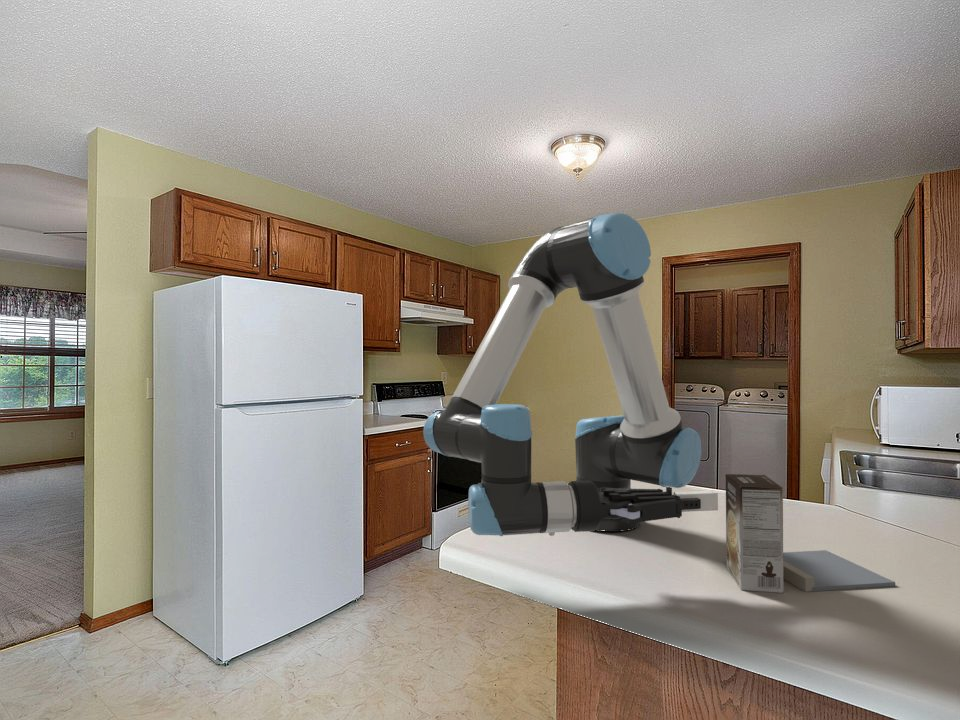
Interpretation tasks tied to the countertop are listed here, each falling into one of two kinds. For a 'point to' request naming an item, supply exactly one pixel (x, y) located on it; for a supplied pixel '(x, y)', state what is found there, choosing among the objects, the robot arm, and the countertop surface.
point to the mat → (828, 572)
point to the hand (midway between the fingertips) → (715, 500)
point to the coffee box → (754, 532)
